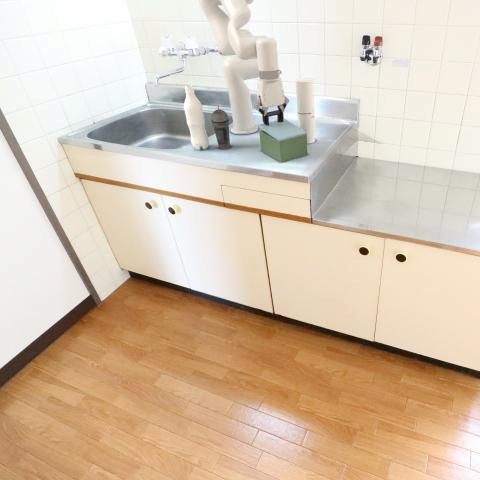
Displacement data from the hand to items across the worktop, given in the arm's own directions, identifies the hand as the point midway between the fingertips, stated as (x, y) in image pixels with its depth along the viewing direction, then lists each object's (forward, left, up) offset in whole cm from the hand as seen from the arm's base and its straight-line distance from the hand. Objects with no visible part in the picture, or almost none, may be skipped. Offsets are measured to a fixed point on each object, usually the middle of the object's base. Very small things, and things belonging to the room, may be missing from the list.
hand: (273, 122), depth 151 cm
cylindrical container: (-2, +15, -11) cm, 19 cm away
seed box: (+6, +1, -11) cm, 13 cm away
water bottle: (-16, -28, -11) cm, 34 cm away
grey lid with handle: (+6, +1, -2) cm, 6 cm away
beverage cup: (-12, -19, -11) cm, 25 cm away
